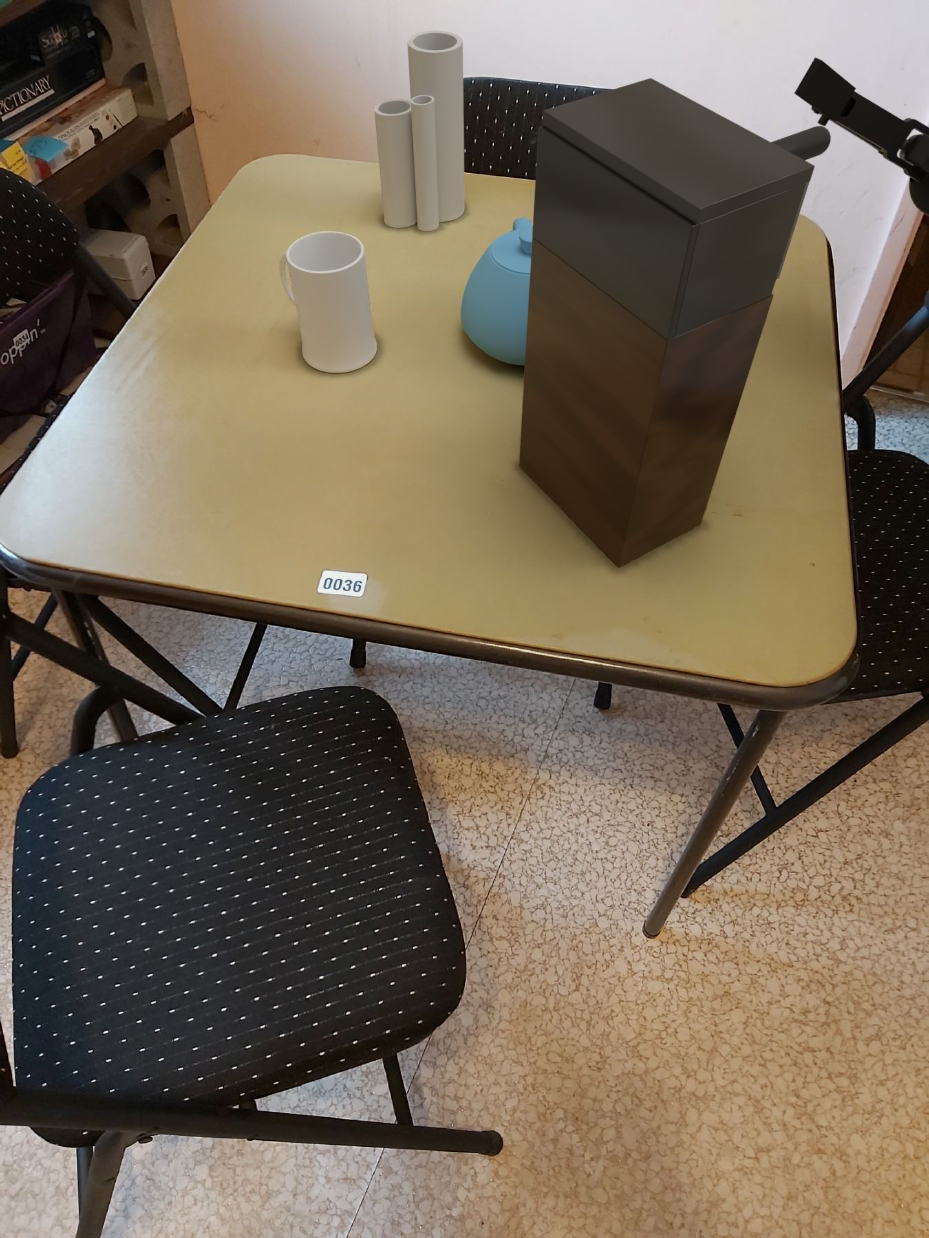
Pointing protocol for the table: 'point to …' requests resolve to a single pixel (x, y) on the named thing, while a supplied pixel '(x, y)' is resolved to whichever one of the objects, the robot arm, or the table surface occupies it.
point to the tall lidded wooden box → (646, 305)
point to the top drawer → (804, 157)
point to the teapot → (501, 296)
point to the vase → (424, 137)
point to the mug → (331, 300)
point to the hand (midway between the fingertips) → (873, 107)
